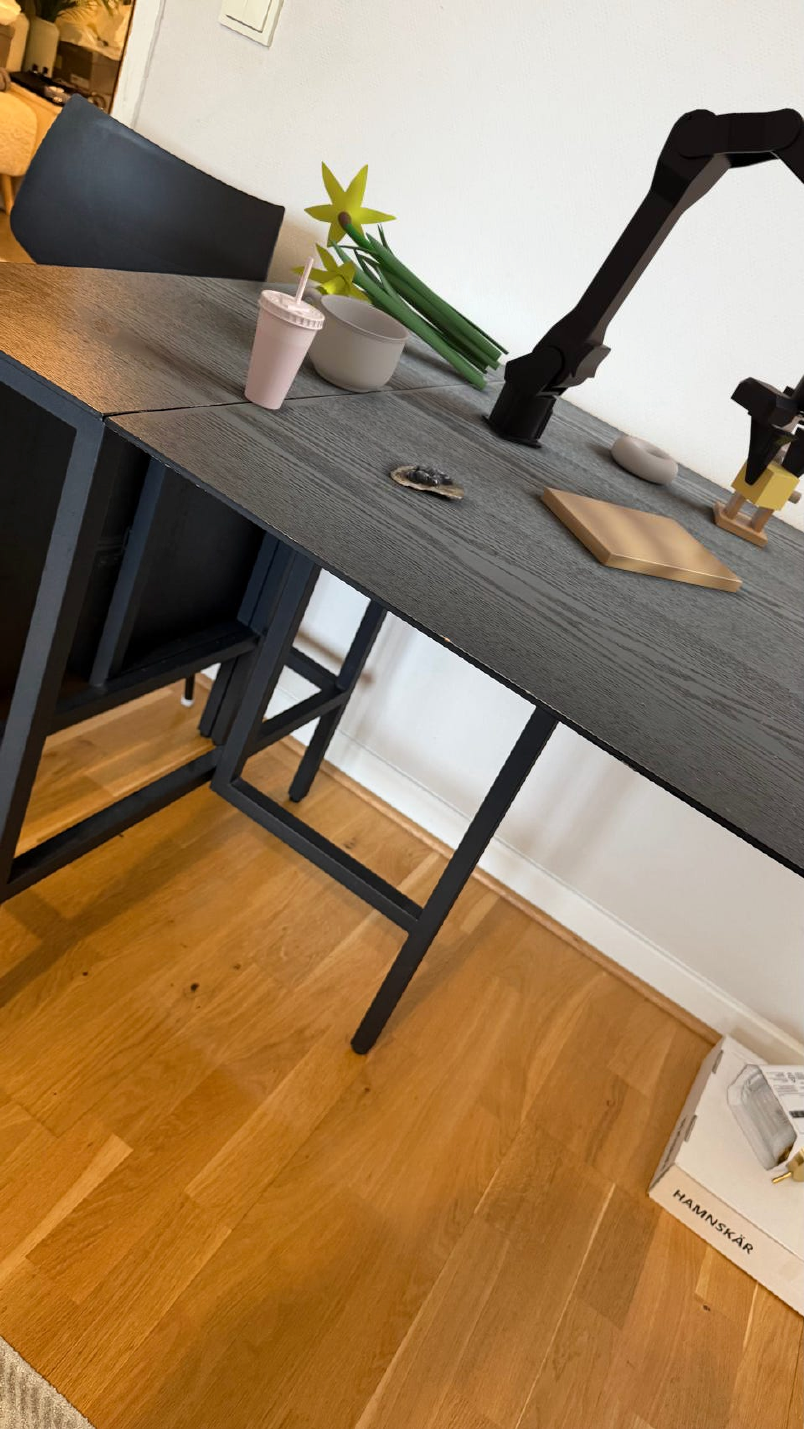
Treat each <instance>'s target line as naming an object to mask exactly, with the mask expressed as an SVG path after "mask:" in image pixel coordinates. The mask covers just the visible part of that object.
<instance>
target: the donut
mask: <svg viewBox="0 0 804 1429" xmlns="http://www.w3.org/2000/svg"><path fill="white" fill-rule="evenodd" d="M611 454H612V457H613V459H614V460H615V462H616V463H617V464H618V465H619V466H621V467H622V468H623V469H625V470H626V471H628V472H629V473H631V474H633V475H635V476H637V477H639V478H640V479H643V480H644V481H648V482H651V483H653V484H659V485H666V484H669V483H671V482H673V481H674V480H675V479H676V477H677V475H678V473H679V465H678V463H677V462H676V459H675V458H674V457H672V456H671V455H670V454H669V453H668V452H666V451H665V450H663V449H661V448H660V447H659V446H657V445H655V444H653V443H651V442H649V441H646V440H644V439H641V438H639V437H637V436H632V435H623V436H619V437H618V438H616V439H615V441H614V443H613V444H612V446H611Z"/></svg>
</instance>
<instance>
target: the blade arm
mask: <svg viewBox="0 0 804 1429" xmlns="http://www.w3.org/2000/svg"><path fill="white" fill-rule="evenodd" d="M789 445H790V443H788V444H786V445H784V446H782V447H781V448H780V450H779V451H778V453H777V454H776V456H775V457H774V458H773V460H772V461H774V462H777V463H778V464H779V465H781V464H782V461H783V459H784V457H785V454H786V452H787V450H788V447H789ZM802 495H803V494H802V493H801V492H799V491H797V490H795V489H794V491H793V492H792V494H791V495H790V497H789V499H788V500H787V502H790V503H792V504H794V505H797V504H798V503H799V502H800V500H801V498H802Z"/></svg>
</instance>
